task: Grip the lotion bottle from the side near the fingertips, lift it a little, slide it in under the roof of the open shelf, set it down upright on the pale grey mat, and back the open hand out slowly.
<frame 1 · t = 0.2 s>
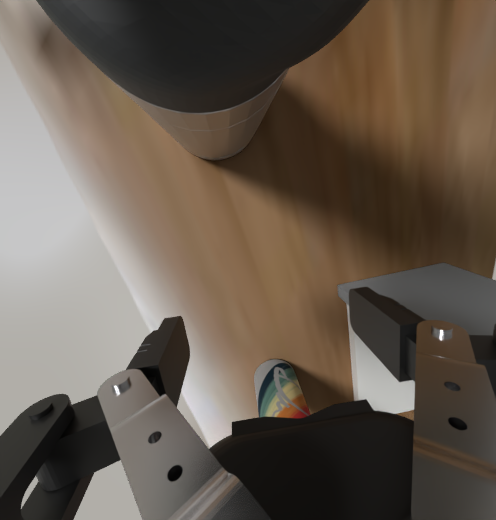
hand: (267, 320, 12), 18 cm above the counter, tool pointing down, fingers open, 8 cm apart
shelf mat: (390, 352, 35), on the counter
open shelf: (392, 349, 35), on the counter
lotion bottle: (273, 374, 35), on the counter
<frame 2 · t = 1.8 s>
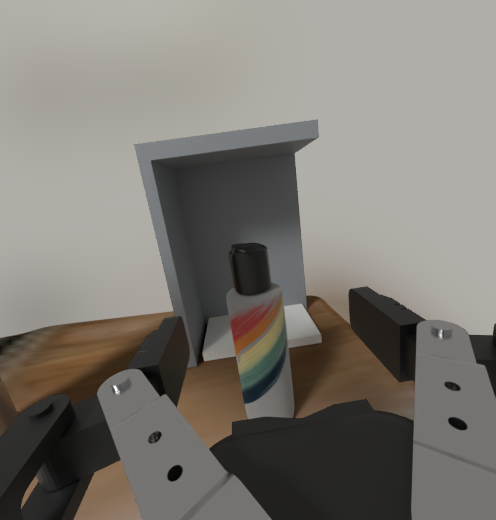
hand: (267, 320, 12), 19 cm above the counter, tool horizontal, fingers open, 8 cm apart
shelf mat: (259, 332, 45), on the counter
open shelf: (256, 332, 45), on the counter
lotion bottle: (270, 412, 29), on the counter
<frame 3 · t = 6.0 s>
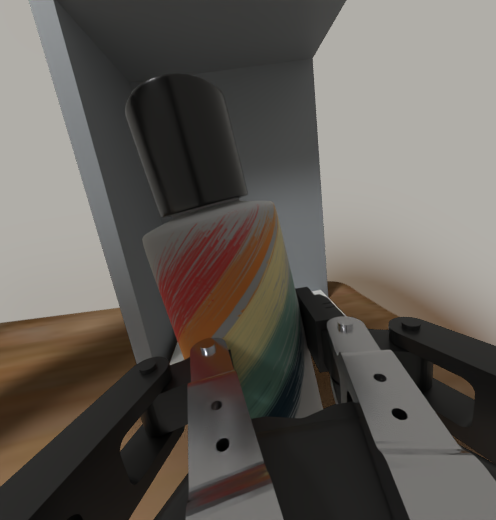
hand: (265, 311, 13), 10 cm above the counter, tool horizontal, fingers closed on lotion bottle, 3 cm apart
open shelf: (257, 330, 30), on the counter
lotion bottle: (287, 484, 14), on the counter, touching gripper
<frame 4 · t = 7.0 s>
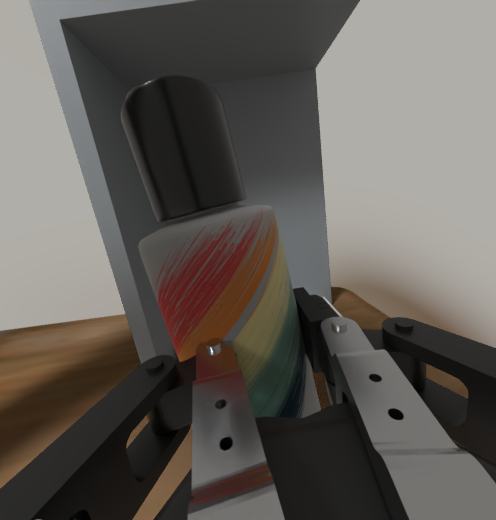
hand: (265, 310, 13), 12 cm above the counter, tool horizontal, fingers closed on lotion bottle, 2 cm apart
open shelf: (262, 338, 31), on the counter
lotion bottle: (286, 491, 14), point 1 cm above the counter, touching gripper
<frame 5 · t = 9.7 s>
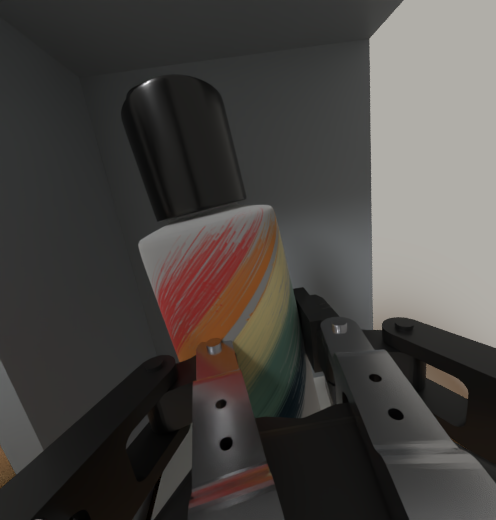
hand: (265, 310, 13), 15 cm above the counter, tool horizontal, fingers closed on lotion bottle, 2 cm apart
shelf mat: (286, 452, 20), on the counter
open shelf: (280, 450, 20), on the counter
lotion bottle: (286, 491, 14), point 4 cm above the counter, touching gripper
when the fingers open (12 cm above the counter, at t = 12.4 s): lotion bottle stays where it is, resting on shelf mat.
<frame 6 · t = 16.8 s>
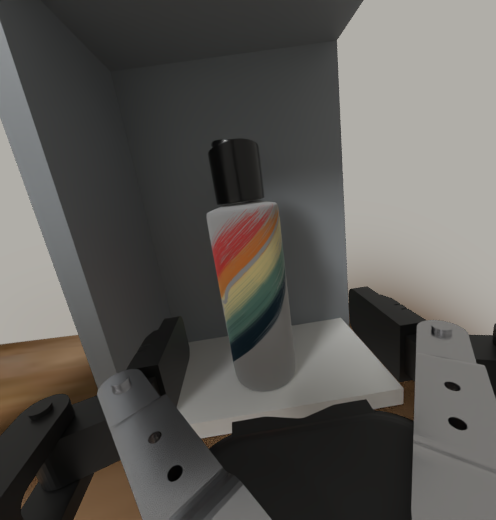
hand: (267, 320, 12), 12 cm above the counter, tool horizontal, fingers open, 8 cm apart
shelf mat: (272, 373, 25), on the counter
open shelf: (267, 372, 25), on the counter
lotion bottle: (265, 371, 23), point 1 cm above the counter, touching shelf mat
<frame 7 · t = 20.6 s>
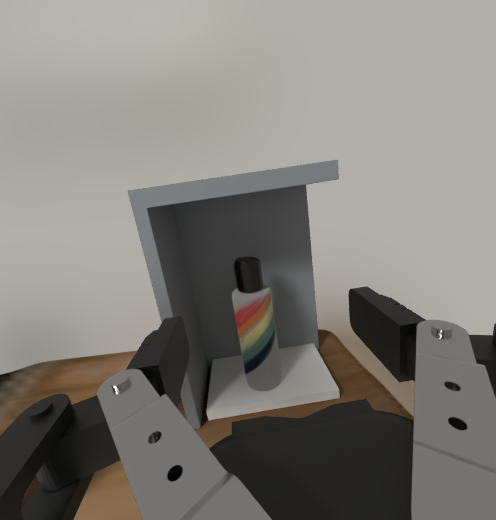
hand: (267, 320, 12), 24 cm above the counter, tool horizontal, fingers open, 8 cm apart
shelf mat: (268, 380, 41), on the counter
open shelf: (265, 379, 41), on the counter
lotion bottle: (264, 379, 39), point 1 cm above the counter, touching shelf mat
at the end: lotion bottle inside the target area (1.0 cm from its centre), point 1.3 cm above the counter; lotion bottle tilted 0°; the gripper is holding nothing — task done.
